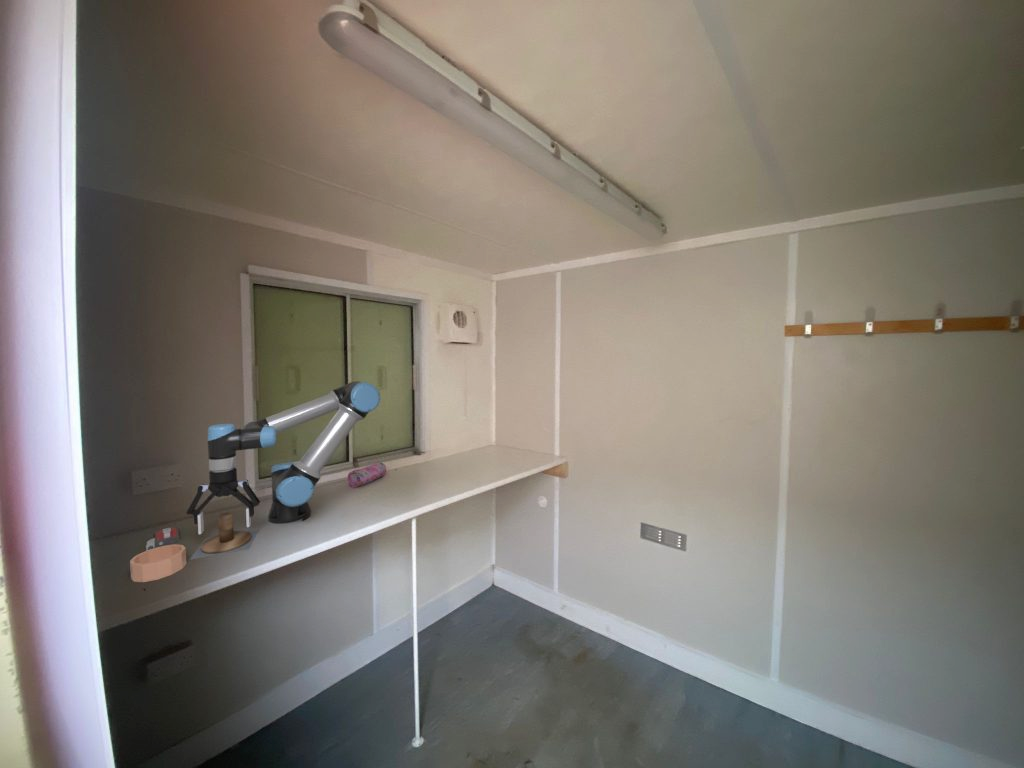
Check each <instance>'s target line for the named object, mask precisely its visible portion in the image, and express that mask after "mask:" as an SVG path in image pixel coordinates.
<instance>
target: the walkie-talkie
mask: <svg viewBox="0 0 1024 768" xmlns="http://www.w3.org/2000/svg"><path fill="white" fill-rule="evenodd" d="M180 540H181V535H180V532H179V527H178V526H171V527H166V528H163V529H162V528H161V529H158V530H156V531H155V532H154V534H153V538H151V539H149V540H148V541H147V542H146V545H145V551H147V550H150V549H153V548H156V547H160V546H165V545H172V544H175V543H177V542H179V541H180Z"/></svg>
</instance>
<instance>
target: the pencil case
mask: <svg viewBox="0 0 1024 768" xmlns="http://www.w3.org/2000/svg"><path fill="white" fill-rule="evenodd" d="M386 474H387V466H386V464H385V463H384V462H380V461H377V462H375V463H373V464H371V465H368V466H365V467H362V468H358V469H354V470H352V471H350V472H349V473H348V474H347V483H348V486H349V488H350V489H351V488H352V489H354V488H355V489H356V488H359V487H362V486H364V485H367V484H370V483H372V482H374V481H375V480H377V479H380V478H383V477H384V476H386Z"/></svg>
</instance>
